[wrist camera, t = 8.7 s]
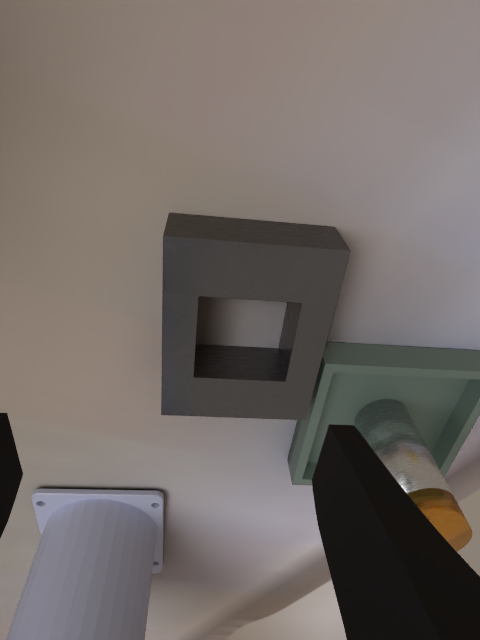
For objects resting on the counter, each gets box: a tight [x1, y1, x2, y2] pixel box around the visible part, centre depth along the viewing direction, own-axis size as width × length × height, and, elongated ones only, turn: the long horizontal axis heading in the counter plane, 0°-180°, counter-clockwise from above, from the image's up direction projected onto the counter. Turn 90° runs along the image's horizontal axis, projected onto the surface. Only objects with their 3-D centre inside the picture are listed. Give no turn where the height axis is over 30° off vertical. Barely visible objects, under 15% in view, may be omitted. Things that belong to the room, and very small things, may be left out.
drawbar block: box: [161, 213, 350, 420], centre depth 19 cm, size 9×7×2 cm
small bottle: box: [354, 399, 472, 552], centre depth 21 cm, size 3×3×7 cm
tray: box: [288, 342, 480, 485], centre depth 24 cm, size 9×9×2 cm
